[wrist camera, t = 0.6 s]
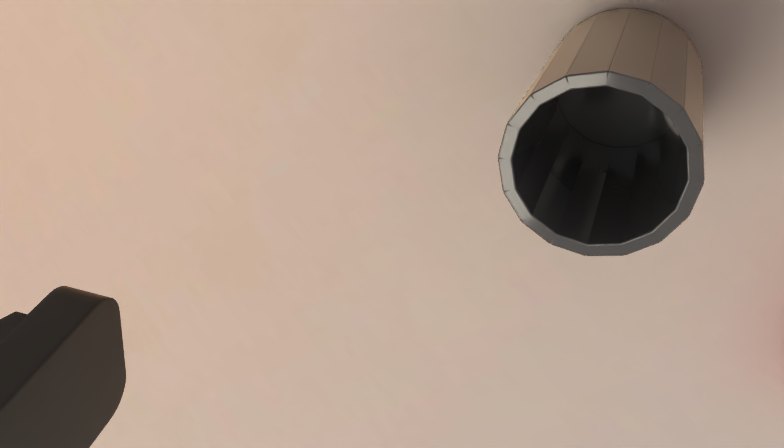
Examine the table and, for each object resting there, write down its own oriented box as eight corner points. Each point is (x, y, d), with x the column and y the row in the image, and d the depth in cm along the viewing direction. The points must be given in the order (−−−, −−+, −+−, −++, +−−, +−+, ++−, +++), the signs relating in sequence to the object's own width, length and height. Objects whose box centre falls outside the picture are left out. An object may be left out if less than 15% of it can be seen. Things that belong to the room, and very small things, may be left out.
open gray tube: (613, -25, 28) (582, 29, 20) (737, 71, 28) (751, 160, 20) (519, 93, 31) (462, 177, 24) (629, 179, 31) (608, 289, 24)
